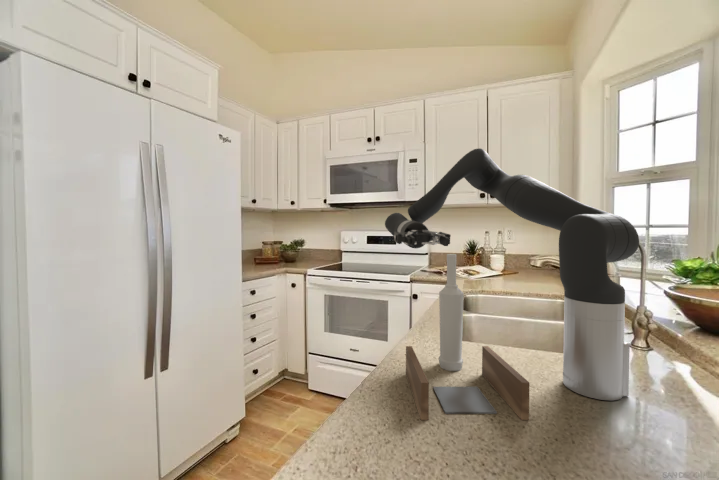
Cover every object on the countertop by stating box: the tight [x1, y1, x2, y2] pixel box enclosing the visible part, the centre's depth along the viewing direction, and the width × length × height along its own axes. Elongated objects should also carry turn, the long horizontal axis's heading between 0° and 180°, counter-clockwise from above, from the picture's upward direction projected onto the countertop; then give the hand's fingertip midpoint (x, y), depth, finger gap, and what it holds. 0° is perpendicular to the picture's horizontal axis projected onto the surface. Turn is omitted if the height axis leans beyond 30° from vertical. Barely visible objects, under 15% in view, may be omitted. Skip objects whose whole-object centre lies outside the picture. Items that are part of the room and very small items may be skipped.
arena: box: [405, 345, 530, 421], centre depth 58 cm, size 17×16×6 cm
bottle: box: [438, 253, 464, 372], centre depth 70 cm, size 5×5×25 cm
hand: (430, 241), depth 77 cm, fingers open, 8 cm apart
